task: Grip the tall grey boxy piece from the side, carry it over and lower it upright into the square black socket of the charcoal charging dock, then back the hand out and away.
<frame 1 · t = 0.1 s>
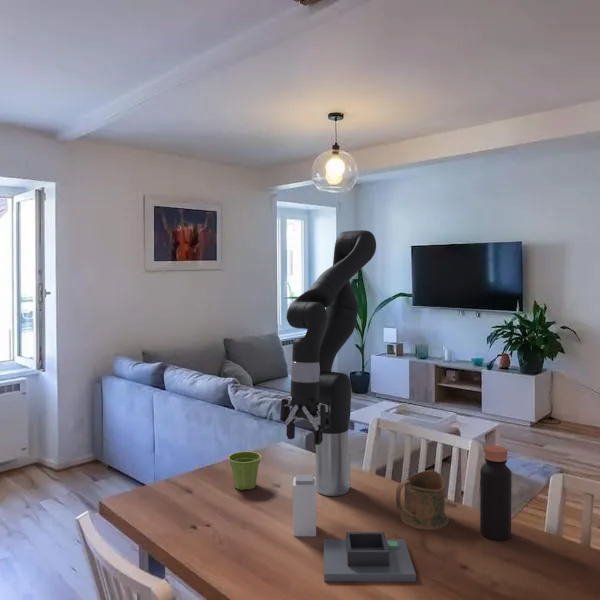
hand: (304, 441, 142), 17 cm above the table, tool pointing down, fingers open, 8 cm apart
dock: (366, 562, 116), on the table
plant pot: (245, 487, 158), on the table
mug: (418, 523, 133), on the table
grey boxy piece: (305, 530, 130), on the table
bottle: (495, 534, 127), on the table
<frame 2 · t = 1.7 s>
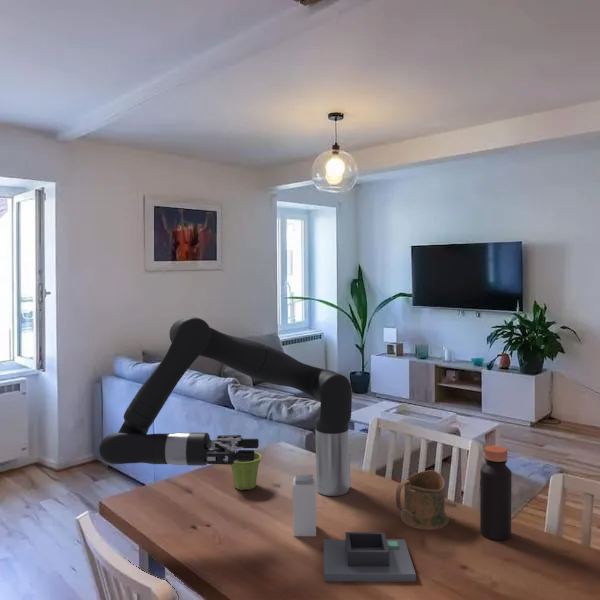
hand: (256, 449, 129), 20 cm above the table, tool horizontal, fingers open, 8 cm apart
nothing on the table moved.
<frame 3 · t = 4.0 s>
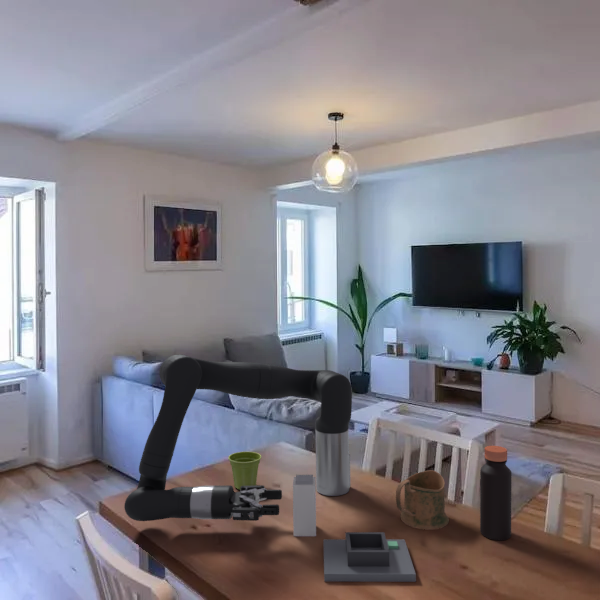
hand: (280, 501, 130), 7 cm above the table, tool horizontal, fingers open, 8 cm apart
nothing on the table moved.
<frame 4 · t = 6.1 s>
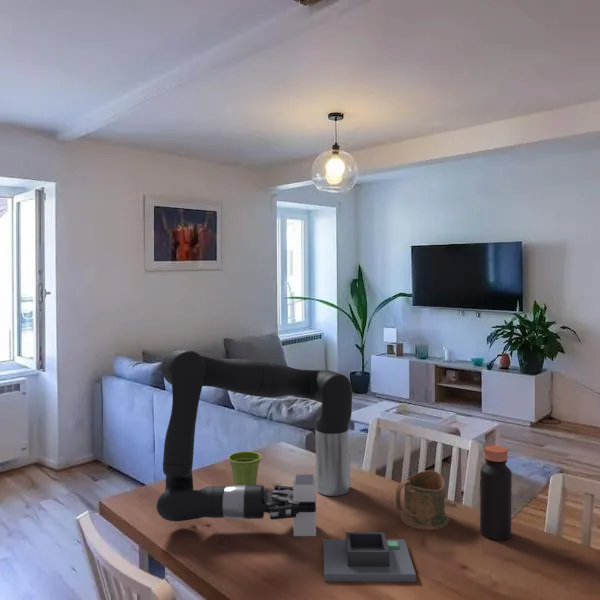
hand: (315, 501, 130), 7 cm above the table, tool horizontal, fingers closed on grey boxy piece, 5 cm apart
grey boxy piece: (305, 530, 130), on the table, touching gripper
everything else where it was.
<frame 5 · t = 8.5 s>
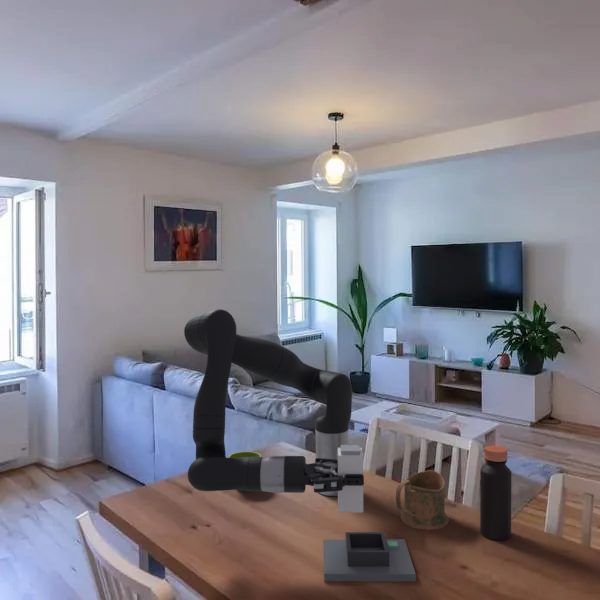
hand: (362, 474, 117), 18 cm above the table, tool horizontal, fingers closed on grey boxy piece, 5 cm apart
grey boxy piece: (350, 506, 118), point 11 cm above the table, touching gripper
everything else where it was.
when the fingers open (9 cm above the table, at t = 11.3 s): grey boxy piece stays where it is, resting on dock.
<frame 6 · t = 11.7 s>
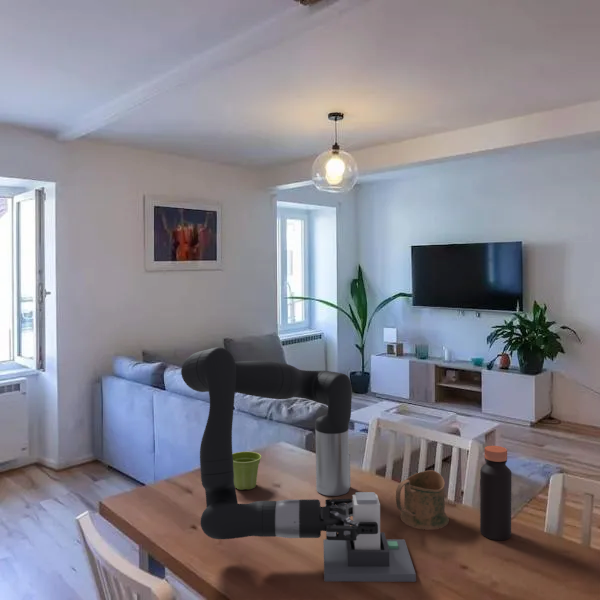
hand: (375, 518, 115), 10 cm above the table, tool horizontal, fingers open, 8 cm apart
grey boxy piece: (366, 555, 115), point 1 cm above the table, touching dock
everything else where it was.
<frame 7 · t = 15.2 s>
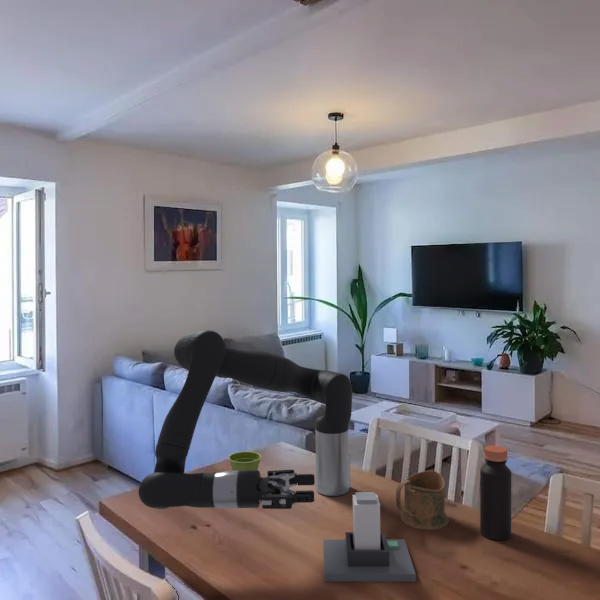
hand: (314, 487, 115), 16 cm above the table, tool horizontal, fingers open, 8 cm apart
nothing on the table moved.
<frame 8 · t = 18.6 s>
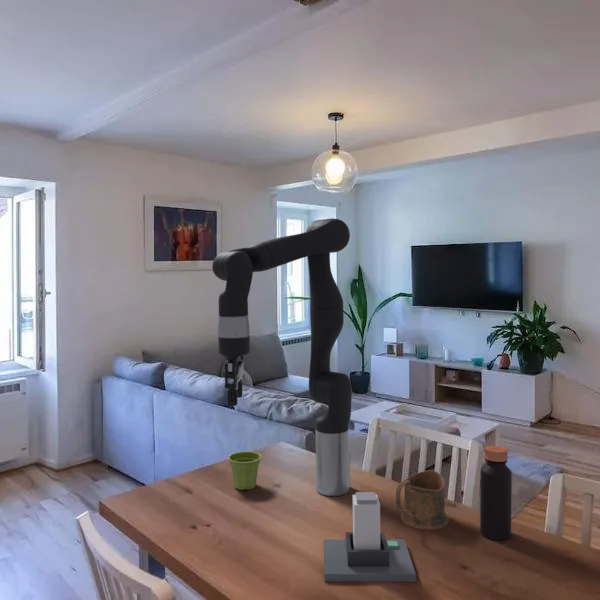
hand: (235, 401, 133), 30 cm above the table, tool pointing down, fingers open, 8 cm apart
nothing on the table moved.
at the end: grey boxy piece 0.0 cm off-centre on the dock, point 1.5 cm above the dock's base; grey boxy piece tilted 0°; the gripper is holding nothing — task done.
